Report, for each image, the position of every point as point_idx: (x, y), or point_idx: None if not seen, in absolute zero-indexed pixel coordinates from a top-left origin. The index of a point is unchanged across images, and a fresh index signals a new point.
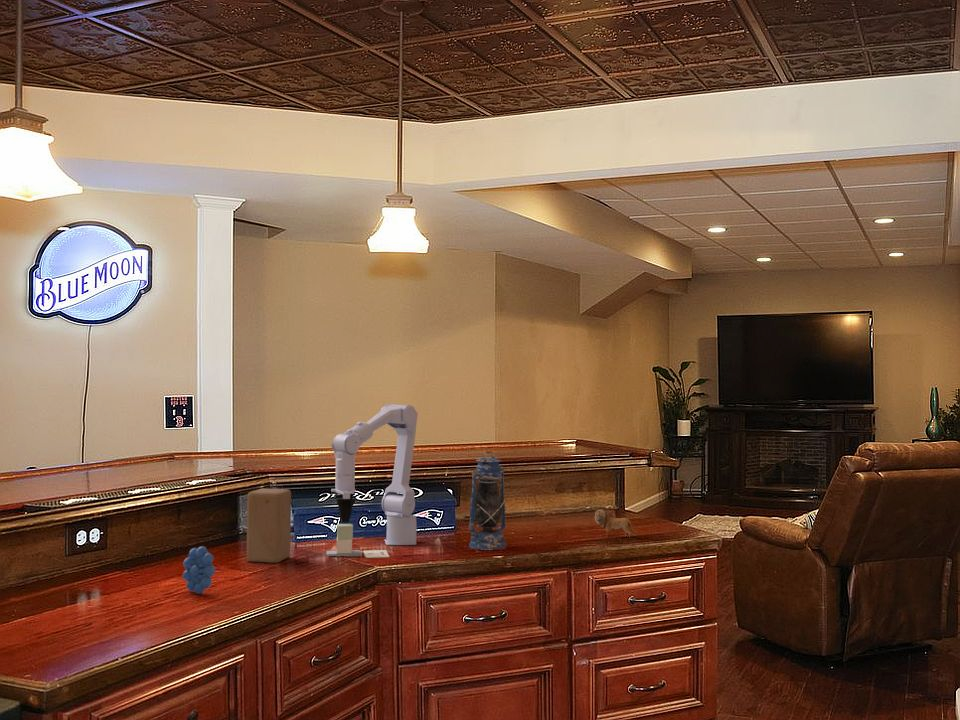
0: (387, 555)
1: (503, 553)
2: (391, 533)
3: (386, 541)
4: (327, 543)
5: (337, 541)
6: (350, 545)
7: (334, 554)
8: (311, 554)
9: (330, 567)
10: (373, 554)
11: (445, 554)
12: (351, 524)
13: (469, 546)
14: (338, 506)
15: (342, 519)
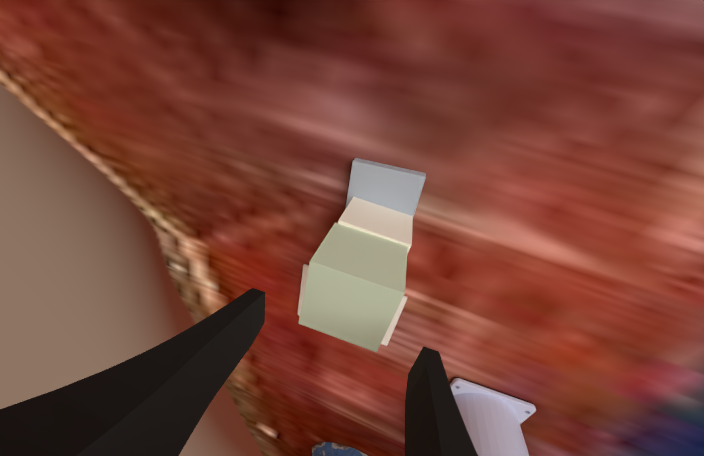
0: None
1: (289, 446)
2: (467, 427)
3: (497, 397)
4: (674, 256)
5: (339, 219)
6: None
7: (349, 185)
8: (443, 100)
9: (179, 111)
10: None
11: (302, 398)
12: (355, 340)
13: (348, 451)
14: (440, 446)
15: (236, 301)
